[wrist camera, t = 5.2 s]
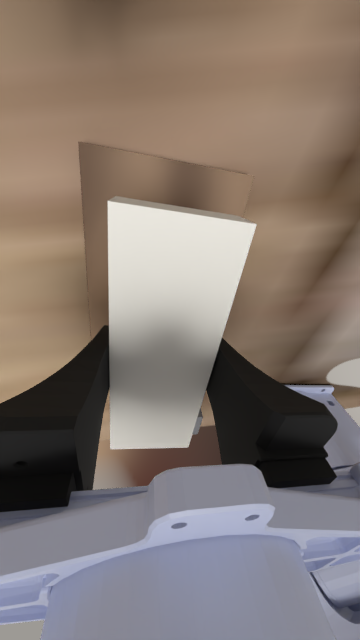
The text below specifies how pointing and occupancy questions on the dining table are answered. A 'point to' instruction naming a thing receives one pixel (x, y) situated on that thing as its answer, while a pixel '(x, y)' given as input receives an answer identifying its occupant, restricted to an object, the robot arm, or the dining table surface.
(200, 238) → the shelf board
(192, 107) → the dining table surface
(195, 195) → the peg stand
